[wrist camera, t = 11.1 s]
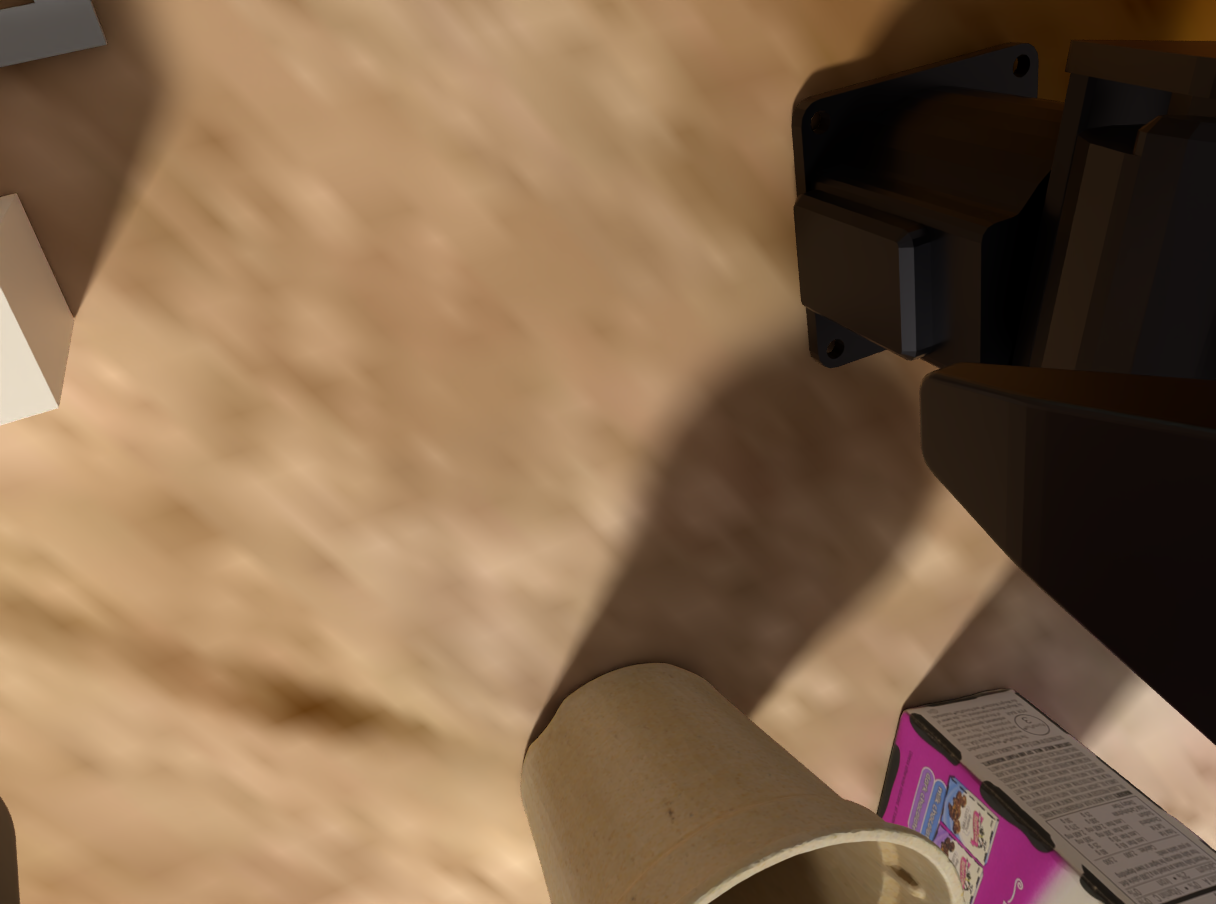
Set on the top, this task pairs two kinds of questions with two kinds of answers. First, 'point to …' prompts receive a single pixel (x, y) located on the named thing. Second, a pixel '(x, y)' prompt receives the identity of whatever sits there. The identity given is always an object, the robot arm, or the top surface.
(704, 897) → the flower pot
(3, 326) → the headphones
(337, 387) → the top surface
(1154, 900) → the candy bar box
